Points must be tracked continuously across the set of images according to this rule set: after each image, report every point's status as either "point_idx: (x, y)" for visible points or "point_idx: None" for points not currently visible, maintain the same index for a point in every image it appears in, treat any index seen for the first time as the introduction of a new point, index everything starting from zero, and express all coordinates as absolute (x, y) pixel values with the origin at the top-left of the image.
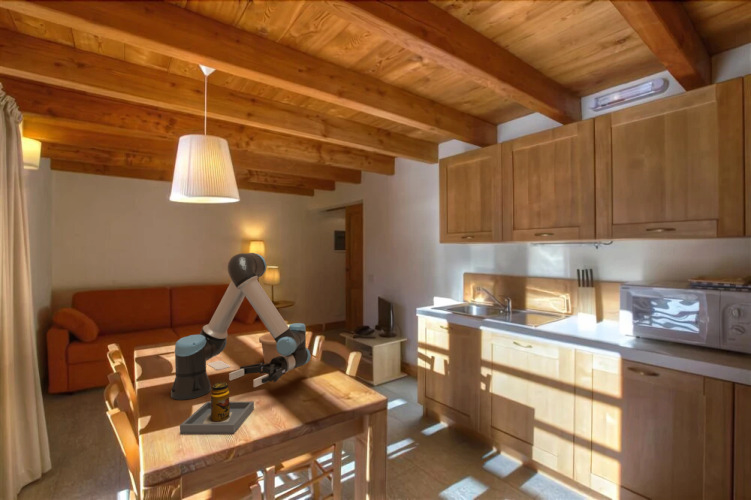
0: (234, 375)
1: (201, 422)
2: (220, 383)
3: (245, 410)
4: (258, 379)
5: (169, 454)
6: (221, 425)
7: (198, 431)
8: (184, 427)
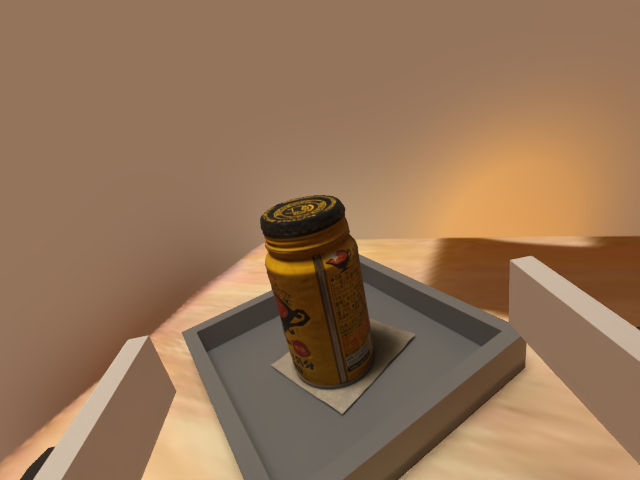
0: (541, 322)
1: None
2: (321, 210)
3: (220, 413)
4: (107, 386)
5: None
6: (228, 311)
7: None
8: None
